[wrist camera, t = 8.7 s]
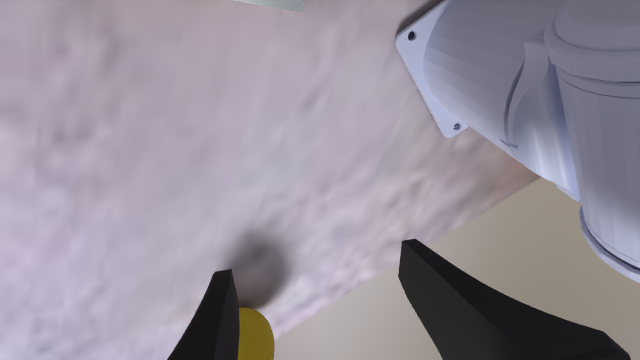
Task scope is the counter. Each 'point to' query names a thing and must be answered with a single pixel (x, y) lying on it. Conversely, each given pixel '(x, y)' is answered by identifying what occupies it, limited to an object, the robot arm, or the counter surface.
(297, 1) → the tower top
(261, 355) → the lemon
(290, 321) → the counter surface
